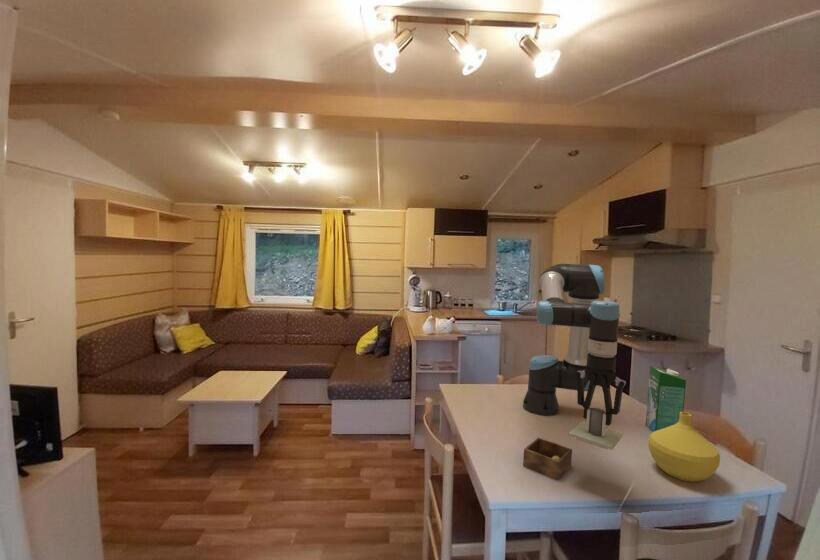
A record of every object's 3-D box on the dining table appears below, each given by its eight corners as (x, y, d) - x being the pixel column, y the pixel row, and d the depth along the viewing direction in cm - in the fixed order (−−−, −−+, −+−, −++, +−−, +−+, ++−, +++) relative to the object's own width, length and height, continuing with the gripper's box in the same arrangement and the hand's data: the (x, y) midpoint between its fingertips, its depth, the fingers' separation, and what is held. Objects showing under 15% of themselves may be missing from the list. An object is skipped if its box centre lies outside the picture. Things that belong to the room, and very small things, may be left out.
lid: (568, 439, 112) (570, 409, 111) (581, 426, 120) (583, 399, 120) (612, 453, 104) (614, 422, 104) (622, 439, 113) (624, 410, 112)
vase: (641, 452, 132) (646, 398, 131) (706, 465, 125) (711, 408, 124) (652, 480, 115) (657, 419, 114) (727, 497, 108) (733, 432, 107)
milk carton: (681, 439, 144) (686, 374, 142) (654, 435, 145) (660, 371, 144) (670, 428, 152) (675, 367, 151) (645, 425, 154) (650, 365, 153)
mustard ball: (549, 465, 120) (549, 456, 120) (553, 462, 123) (553, 452, 122) (558, 469, 118) (559, 460, 118) (562, 465, 121) (563, 456, 120)
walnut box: (523, 467, 120) (524, 448, 120) (537, 454, 128) (538, 437, 128) (558, 482, 113) (559, 462, 112) (570, 467, 121) (572, 449, 120)
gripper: (568, 350, 113) (563, 427, 115) (631, 362, 102) (624, 447, 104) (576, 347, 119) (571, 419, 120) (637, 357, 108) (631, 437, 109)
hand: (596, 432), depth 112 cm, fingers closed on lid, 4 cm apart
